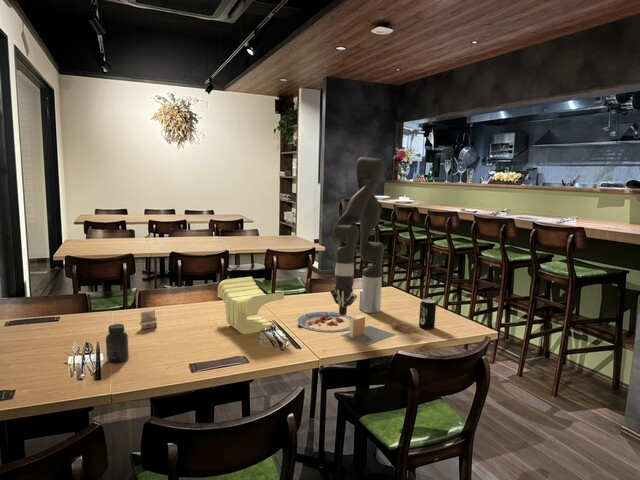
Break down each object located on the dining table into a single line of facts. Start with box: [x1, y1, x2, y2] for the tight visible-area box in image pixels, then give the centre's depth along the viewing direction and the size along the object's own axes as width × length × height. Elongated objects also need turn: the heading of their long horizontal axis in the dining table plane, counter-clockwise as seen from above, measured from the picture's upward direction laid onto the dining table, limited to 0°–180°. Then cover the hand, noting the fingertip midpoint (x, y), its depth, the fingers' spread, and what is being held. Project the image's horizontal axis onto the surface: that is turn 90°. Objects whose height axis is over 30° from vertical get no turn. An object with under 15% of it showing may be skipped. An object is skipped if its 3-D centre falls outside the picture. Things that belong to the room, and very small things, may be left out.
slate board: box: [340, 325, 397, 347], centre depth 180 cm, size 14×18×2 cm
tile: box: [348, 315, 366, 338], centre depth 179 cm, size 2×7×7 cm, turn 135°
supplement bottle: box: [105, 323, 130, 365], centre depth 153 cm, size 7×7×12 cm
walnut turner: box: [391, 322, 411, 334], centre depth 189 cm, size 13×6×4 cm, turn 45°
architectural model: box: [137, 309, 158, 330], centre depth 183 cm, size 3×7×7 cm, turn 125°
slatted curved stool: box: [217, 276, 285, 335], centre depth 188 cm, size 30×16×18 cm, turn 34°
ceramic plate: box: [296, 311, 354, 333], centre depth 195 cm, size 26×26×3 cm
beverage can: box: [418, 298, 437, 331], centre depth 195 cm, size 7×7×12 cm
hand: (342, 315), depth 184 cm, fingers closed
